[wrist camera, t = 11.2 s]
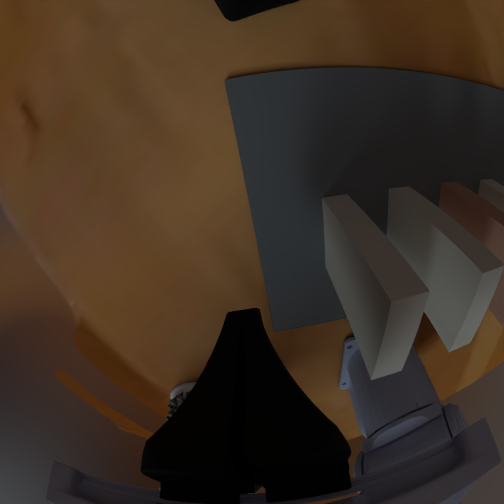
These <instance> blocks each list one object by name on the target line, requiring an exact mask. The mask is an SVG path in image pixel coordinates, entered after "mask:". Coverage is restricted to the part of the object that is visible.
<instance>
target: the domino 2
mask: <svg viewBox="0 0 504 504" xmlns="http://www.w3.org/2000/svg"><path fill="white" fill-rule="evenodd" d="M386 237H387V238H388V239H389V240H390V241H391V243H392V244H393V245H394V246H395V247H396V249H397V250H398V251H399V252H400V253H401V255H402V256H403V257H404V258H405V259H406V261H407V262H408V263H409V264H410V266H411V267H412V268H413V269H414V271H415V272H416V273H417V275H418V276H419V277H420V278H421V280H422V281H423V282H424V284H425V285H426V286H427V288H428V289H429V290H430V292H429V296H428V299H427V303H426V306H425V309H424V312H425V314H426V315H427V317H428V318H429V320H430V322H431V323H432V325H433V326H434V328H435V330H436V331H437V333H438V335H439V336H440V338H441V340H442V341H443V343H444V345H445V346H446V348H447V350H448V352H451V351H453V350H455V349H457V348H460V347H462V346H464V345H466V344H468V343H470V342H471V340H472V339H473V337H474V335H475V333H476V331H477V329H478V327H479V325H480V323H481V321H482V319H483V317H484V315H485V313H486V310H487V308H488V306H489V304H490V302H491V299H492V297H493V295H494V292H495V290H496V287H497V285H498V282H499V280H500V277H501V274H502V271H503V269H504V264H503V263H502V262H501V261H500V260H499V259H498V258H497V257H496V256H495V255H494V254H493V253H492V252H491V251H490V250H489V249H487V248H486V247H485V246H484V245H483V244H482V243H481V242H480V241H479V240H478V239H476V238H475V237H474V236H473V235H472V234H471V233H469V232H468V231H467V230H466V229H465V228H464V227H462V226H461V225H460V224H459V223H458V222H456V221H455V220H454V219H453V218H451V217H450V216H449V215H448V214H446V213H445V212H444V211H442V210H441V209H440V208H439V207H437V206H436V205H435V204H433V203H432V202H430V201H429V200H428V199H426V198H425V197H424V196H422V195H421V194H419V193H418V192H417V191H415V190H414V189H412V188H411V187H409V186H408V187H399V188H390V189H389V199H388V220H387V235H386Z"/></svg>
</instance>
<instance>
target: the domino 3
mask: <svg viewBox="0 0 504 504" xmlns="http://www.w3.org/2000/svg"><path fill="white" fill-rule="evenodd" d="M439 208H440V209H441V210H442V211H444V212H445V213H446V214H448V215H449V216H450V217H451V218H453V219H454V220H455V221H456V222H458V223H459V224H460V225H461V226H462V227H464V228H465V229H466V230H467V231H468V232H469V233H471V234H472V235H473V236H474V237H475V238H476V239H478V240H479V241H480V242H481V243H482V244H483V245H484V246H485V247H486V248H487V249H489V250H490V251H491V252H492V253H493V254H494V255H495V256H496V257H497V258H498V259H499V260H500V261H501V262H502V263H503V264H504V212H502V211H501V210H500V209H498V208H497V207H495V206H494V205H493V204H491V203H490V202H488V201H487V200H485V199H484V198H482V197H481V196H479V195H478V194H476V193H474V192H473V191H471V190H470V189H468V188H466V187H465V186H463V185H462V184H460V183H458V182H445V183H441V191H440V201H439ZM488 307H489V309H490V310H491V311H492V313H493V314H494V315H495V317H496V318H497V319H498V321H499V322H500V323H501V325H502V326H503V325H504V269H503V271H502V274H501V277H500V280H499V282H498V285H497V287H496V290H495V292H494V295H493V297H492V299H491V302H490V304H489V306H488Z"/></svg>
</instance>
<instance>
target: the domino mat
mask: <svg viewBox="0 0 504 504" xmlns="http://www.w3.org/2000/svg"><path fill="white" fill-rule="evenodd" d="M225 85H226V90H227V95H228V99H229V104H230V109H231V114H232V119H233V124H234V129H235V134H236V139H237V143H238V148H239V153H240V158H241V163H242V168H243V173H244V178H245V183H246V188H247V193H248V198H249V203H250V208H251V213H252V219H253V224H254V229H255V234H256V239H257V244H258V249H259V254H260V259H261V265H262V270H263V275H264V280H265V285H266V291H267V296H268V301H269V306H270V311H271V317H272V322H273V327H274V332H276V331H281V330H287V329H293V328H298V327H304V326H309V325H314V324H319V323H324V322H328V321H333V320H338V319H342V318H347V316H346V314H345V311H344V309H343V306H342V304H341V302H340V299H339V297H338V295H337V292H336V290H335V288H334V285H333V283H332V281H331V278H330V276H329V274H328V272H327V269H326V267H325V241H324V222H323V207H322V198H324V197H331V196H337V195H344V194H348V196H349V197H350V198H351V199H352V200H353V201H354V202H355V203H356V204H357V205H358V206H359V207H360V208H361V209H362V210H363V211H364V212H365V213H366V214H367V216H368V217H369V218H370V219H371V220H372V221H373V222H374V223H375V224H376V225H377V227H378V228H379V229H380V230H381V231H382V232H383V233H384V235H385V236H386V235H387V220H388V199H389V189H390V188H399V187H408V186H409V187H411V188H412V189H414V190H415V191H417V192H418V193H419V194H421V195H422V196H424V197H425V198H426V199H428V200H429V201H430V202H432V203H433V204H435V205H436V206H437V207H439V201H440V191H441V183H445V182H458V183H460V184H462V185H463V186H465V187H466V188H468V189H470V190H471V191H473V192H474V193H476V194H478V193H479V185H480V180H485V179H492V180H494V181H495V182H497V183H499V184H501V185H502V186H504V91H503V90H500V89H497V88H494V87H490V86H487V85H483V84H479V83H475V82H471V81H467V80H463V79H458V78H453V77H448V76H442V75H437V74H430V73H424V72H416V71H407V70H397V69H384V68H362V67H332V68H309V69H296V70H285V71H276V72H268V73H261V74H254V75H247V76H242V77H236V78H231V79H225Z"/></svg>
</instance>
